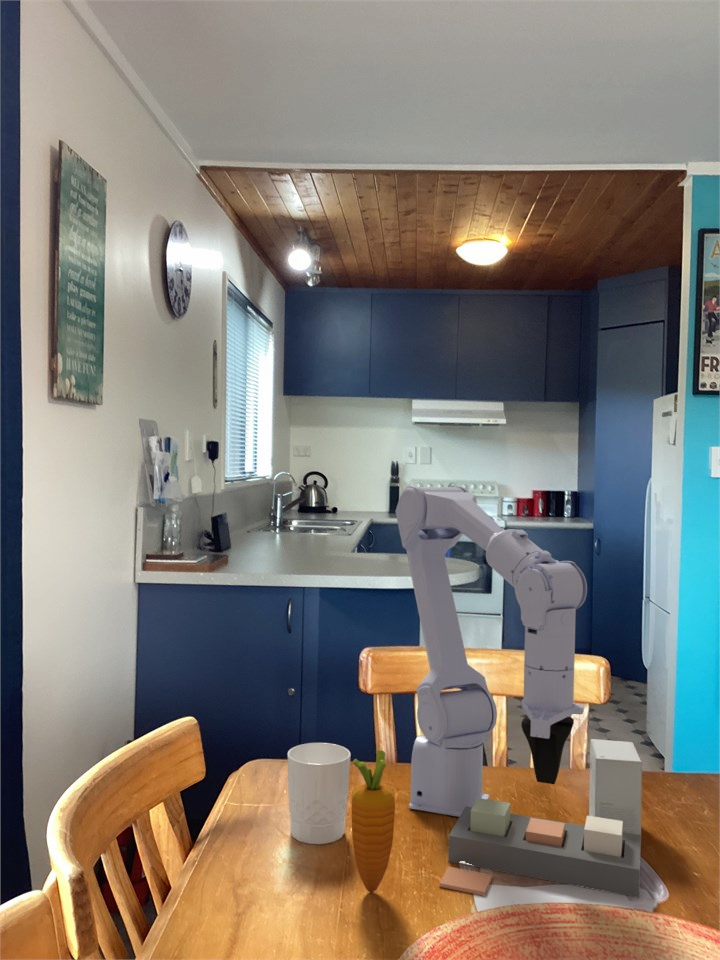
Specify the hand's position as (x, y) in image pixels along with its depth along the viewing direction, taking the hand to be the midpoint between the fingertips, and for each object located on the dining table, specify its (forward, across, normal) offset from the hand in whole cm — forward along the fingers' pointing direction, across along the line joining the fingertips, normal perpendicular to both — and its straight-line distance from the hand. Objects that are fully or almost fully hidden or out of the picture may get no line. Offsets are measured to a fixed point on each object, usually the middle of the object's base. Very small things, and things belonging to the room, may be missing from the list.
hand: (546, 781), depth 93 cm
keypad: (+9, 0, 0) cm, 9 cm away
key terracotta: (+9, 0, 0) cm, 9 cm away
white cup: (+10, -4, +28) cm, 29 cm away
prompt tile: (+9, -8, +8) cm, 15 cm away
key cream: (+7, 0, -7) cm, 10 cm away
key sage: (+8, 0, +7) cm, 10 cm away
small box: (+10, +12, -7) cm, 17 cm away
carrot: (+10, -14, +16) cm, 24 cm away
